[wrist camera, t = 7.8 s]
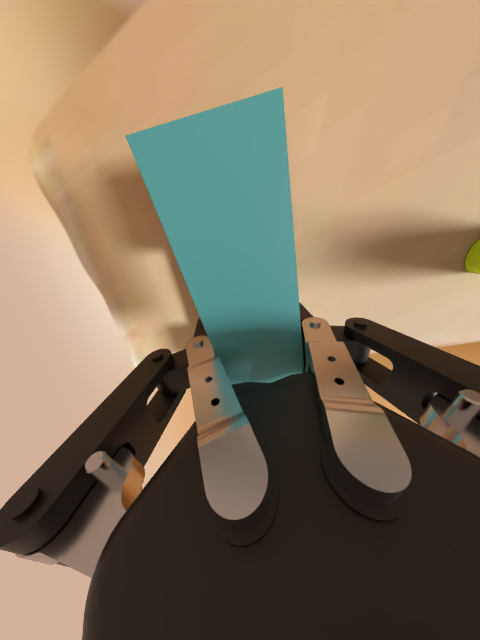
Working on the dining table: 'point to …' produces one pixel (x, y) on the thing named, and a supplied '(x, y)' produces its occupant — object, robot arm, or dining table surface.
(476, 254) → the soap dispenser
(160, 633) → the robot arm
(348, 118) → the dining table surface
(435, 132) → the dining table surface
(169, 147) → the teal block
